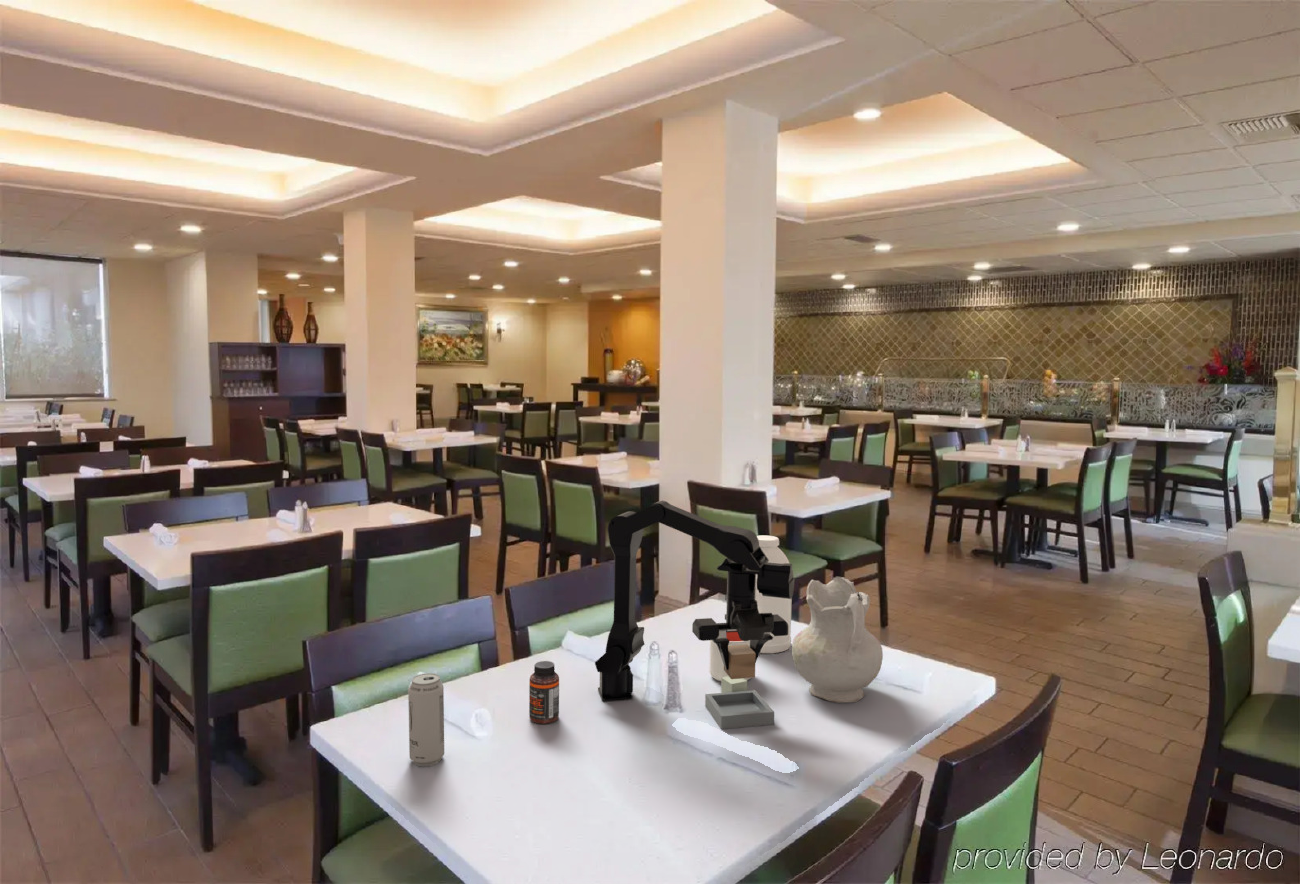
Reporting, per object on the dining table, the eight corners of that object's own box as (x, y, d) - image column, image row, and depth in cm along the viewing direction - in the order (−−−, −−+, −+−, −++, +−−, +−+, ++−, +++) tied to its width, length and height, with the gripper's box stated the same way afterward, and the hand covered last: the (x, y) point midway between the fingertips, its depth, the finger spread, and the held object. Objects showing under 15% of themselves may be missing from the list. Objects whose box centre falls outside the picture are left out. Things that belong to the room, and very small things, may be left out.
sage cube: (731, 702, 170) (731, 684, 169) (721, 695, 173) (721, 677, 173) (746, 698, 172) (747, 680, 171) (736, 692, 175) (736, 674, 175)
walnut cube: (723, 669, 164) (724, 646, 164) (746, 667, 166) (747, 644, 165) (731, 679, 160) (731, 655, 159) (755, 677, 161) (755, 653, 160)
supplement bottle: (523, 721, 159) (522, 665, 158) (540, 710, 165) (540, 656, 164) (547, 727, 157) (547, 671, 156) (564, 716, 162) (565, 661, 161)
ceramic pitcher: (905, 712, 168) (917, 595, 166) (826, 719, 160) (838, 597, 159) (843, 676, 188) (854, 572, 186) (771, 681, 181) (781, 572, 179)
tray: (721, 729, 157) (721, 716, 156) (705, 706, 167) (705, 694, 167) (774, 724, 159) (774, 711, 159) (754, 701, 170) (755, 690, 170)
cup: (755, 685, 179) (756, 642, 178) (710, 684, 179) (711, 641, 178) (750, 669, 189) (751, 627, 188) (708, 668, 189) (709, 627, 188)
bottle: (729, 637, 211) (731, 532, 209) (779, 634, 214) (782, 531, 211) (745, 655, 197) (748, 544, 195) (798, 652, 200) (802, 542, 197)
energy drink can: (408, 754, 145) (406, 674, 144) (442, 749, 147) (441, 670, 146) (410, 770, 139) (409, 686, 138) (446, 764, 141) (445, 682, 140)
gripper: (708, 607, 151) (706, 687, 152) (800, 602, 155) (798, 680, 157) (692, 591, 162) (690, 665, 163) (778, 586, 166) (776, 659, 167)
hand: (739, 668), depth 162 cm, fingers closed on walnut cube, 5 cm apart
